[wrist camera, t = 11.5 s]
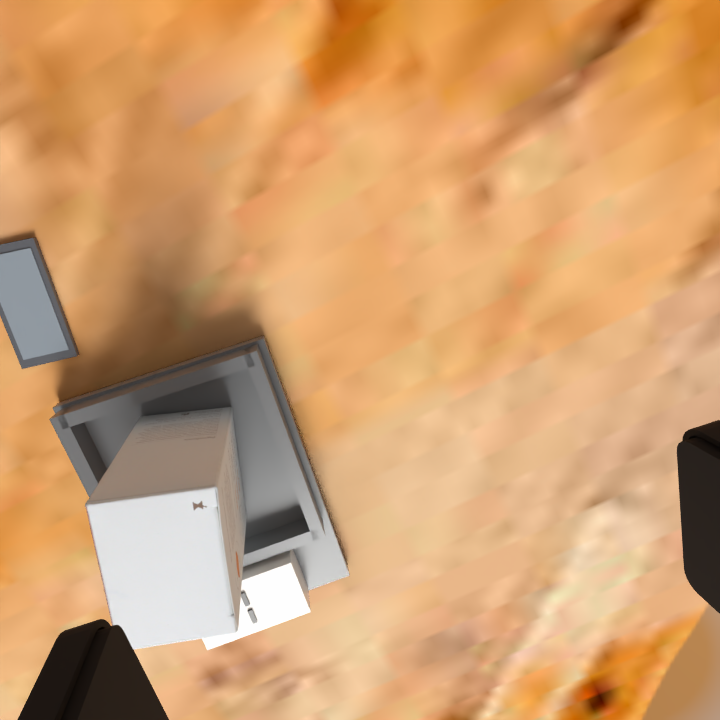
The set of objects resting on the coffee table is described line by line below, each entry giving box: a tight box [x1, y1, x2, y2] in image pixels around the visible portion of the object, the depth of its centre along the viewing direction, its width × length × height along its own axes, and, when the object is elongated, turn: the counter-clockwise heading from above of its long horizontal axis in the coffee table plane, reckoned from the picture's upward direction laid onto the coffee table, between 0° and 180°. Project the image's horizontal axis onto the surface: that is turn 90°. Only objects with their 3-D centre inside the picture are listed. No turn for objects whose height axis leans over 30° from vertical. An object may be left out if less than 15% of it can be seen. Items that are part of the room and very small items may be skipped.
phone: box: [0, 238, 80, 369], centre depth 31 cm, size 7×3×1 cm, turn 12°
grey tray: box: [50, 335, 349, 650], centre depth 34 cm, size 18×13×4 cm
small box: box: [85, 407, 247, 649], centre depth 29 cm, size 8×6×10 cm
